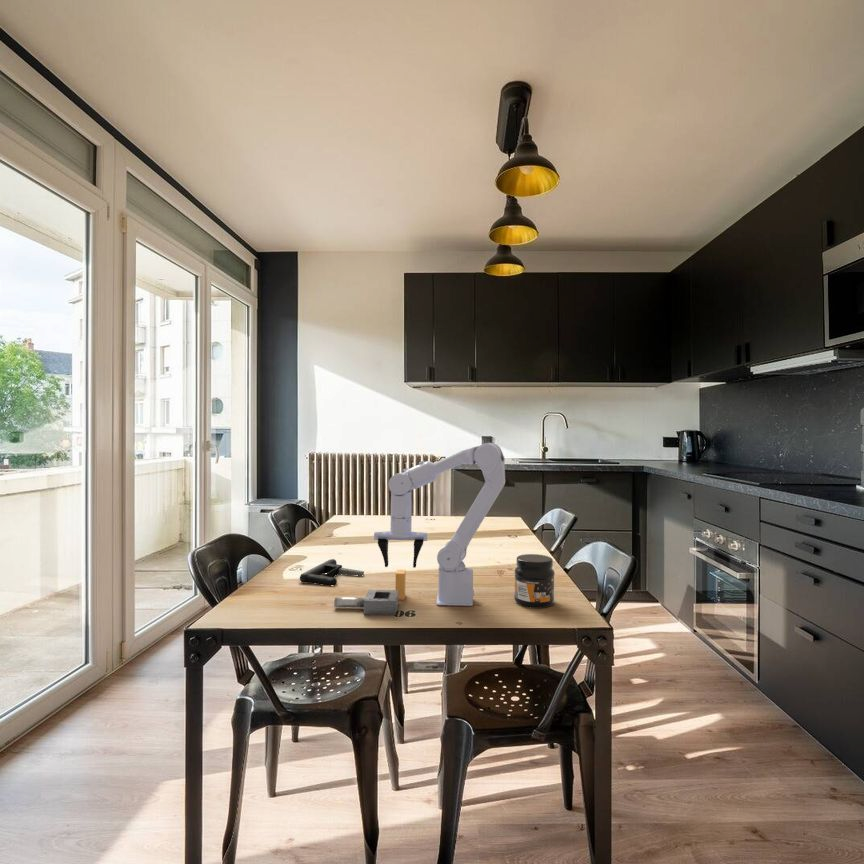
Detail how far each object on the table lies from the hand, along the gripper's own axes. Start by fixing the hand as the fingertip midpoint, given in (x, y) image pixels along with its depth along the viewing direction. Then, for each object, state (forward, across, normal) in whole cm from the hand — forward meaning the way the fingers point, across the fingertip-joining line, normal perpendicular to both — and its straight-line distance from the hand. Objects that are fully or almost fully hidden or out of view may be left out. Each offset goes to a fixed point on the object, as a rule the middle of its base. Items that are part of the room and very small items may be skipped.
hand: (400, 566), depth 152 cm
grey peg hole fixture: (+8, +8, +10) cm, 15 cm away
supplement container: (+8, -36, +3) cm, 37 cm away
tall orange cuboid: (+8, 0, 0) cm, 8 cm away
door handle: (+9, +22, -19) cm, 30 cm away
